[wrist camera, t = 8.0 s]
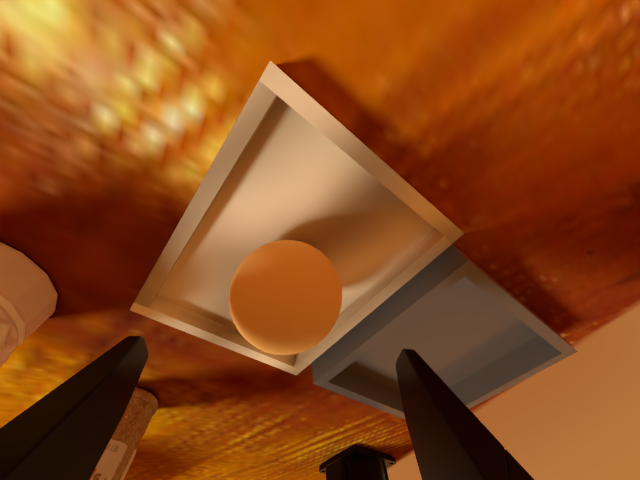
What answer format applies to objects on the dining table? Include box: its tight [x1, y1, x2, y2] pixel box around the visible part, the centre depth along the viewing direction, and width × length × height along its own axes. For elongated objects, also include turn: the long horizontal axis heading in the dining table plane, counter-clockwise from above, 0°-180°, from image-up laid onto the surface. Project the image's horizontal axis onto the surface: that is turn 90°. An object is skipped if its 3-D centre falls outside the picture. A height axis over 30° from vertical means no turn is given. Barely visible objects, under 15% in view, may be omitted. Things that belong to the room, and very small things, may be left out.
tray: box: [130, 61, 464, 375], centre depth 13 cm, size 11×14×2 cm
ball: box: [229, 240, 342, 355], centre depth 11 cm, size 5×5×5 cm
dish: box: [312, 244, 577, 420], centre depth 18 cm, size 12×12×2 cm
